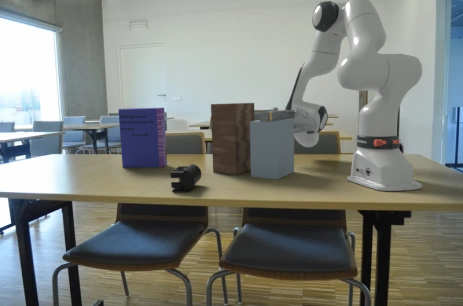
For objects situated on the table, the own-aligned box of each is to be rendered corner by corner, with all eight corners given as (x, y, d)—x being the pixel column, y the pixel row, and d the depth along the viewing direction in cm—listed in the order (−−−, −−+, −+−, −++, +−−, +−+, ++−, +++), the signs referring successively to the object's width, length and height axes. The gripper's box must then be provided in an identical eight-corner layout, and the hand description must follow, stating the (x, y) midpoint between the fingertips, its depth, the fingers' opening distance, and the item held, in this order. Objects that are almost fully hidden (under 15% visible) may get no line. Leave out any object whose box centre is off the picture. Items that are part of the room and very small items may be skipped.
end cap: (194, 193, 104) (193, 170, 103) (171, 192, 105) (169, 170, 104) (202, 184, 114) (201, 164, 113) (180, 184, 115) (179, 164, 114)
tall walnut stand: (233, 166, 144) (231, 103, 140) (255, 168, 139) (254, 102, 135) (213, 172, 132) (210, 104, 129) (236, 175, 127) (234, 103, 123)
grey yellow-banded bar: (286, 117, 138) (286, 109, 137) (295, 117, 136) (295, 109, 136) (259, 121, 120) (259, 112, 119) (268, 121, 118) (268, 112, 117)
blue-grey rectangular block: (269, 169, 135) (268, 119, 133) (294, 171, 130) (294, 119, 127) (250, 176, 124) (249, 121, 121) (277, 179, 118) (276, 121, 116)
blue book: (167, 165, 150) (164, 107, 147) (164, 167, 146) (160, 107, 142) (127, 165, 152) (123, 108, 148) (122, 167, 147) (118, 108, 144)
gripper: (276, 117, 151) (263, 101, 140) (324, 118, 140) (313, 100, 129) (273, 131, 149) (259, 116, 138) (321, 133, 138) (310, 116, 127)
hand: (286, 108), depth 133 cm, fingers open, 8 cm apart
